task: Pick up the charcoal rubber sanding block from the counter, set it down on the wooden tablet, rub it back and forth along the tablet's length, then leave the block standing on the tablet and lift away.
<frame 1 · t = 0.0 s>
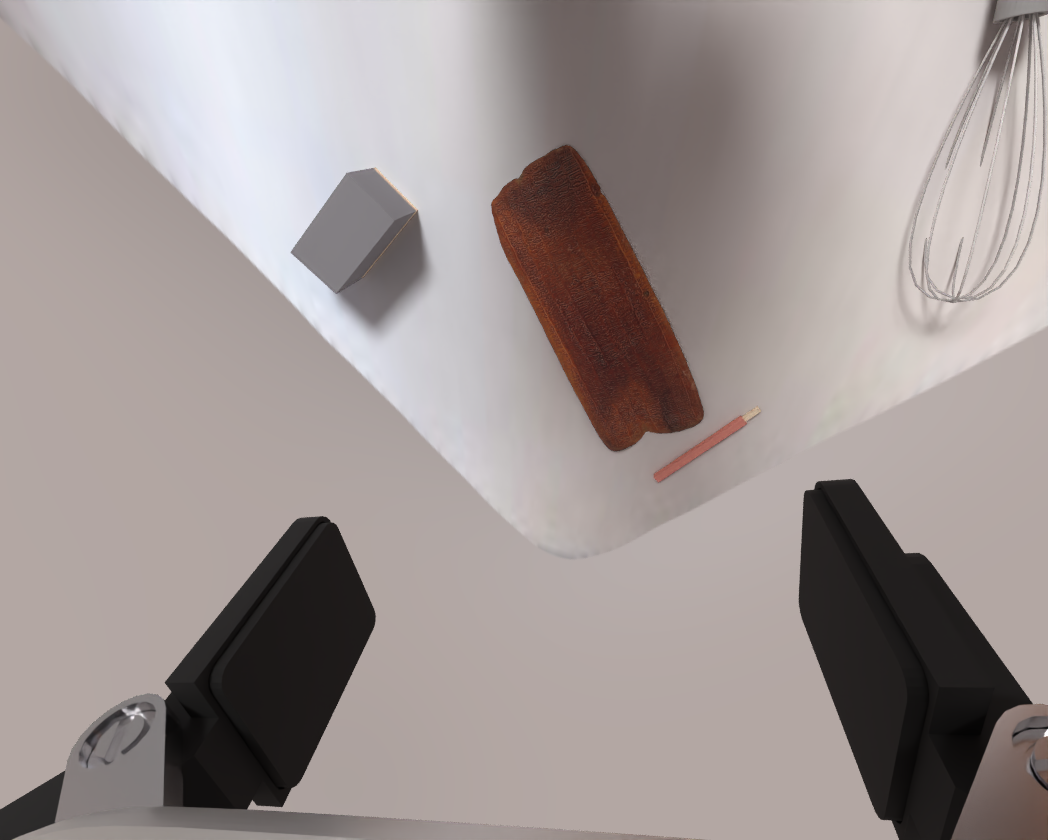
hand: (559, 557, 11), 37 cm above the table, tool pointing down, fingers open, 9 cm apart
kitchen whisk: (985, 35, 35), on the table
wooden tablet: (600, 311, 47), on the table
carpenter pencil: (697, 448, 51), on the table
sanding block: (369, 225, 46), on the table
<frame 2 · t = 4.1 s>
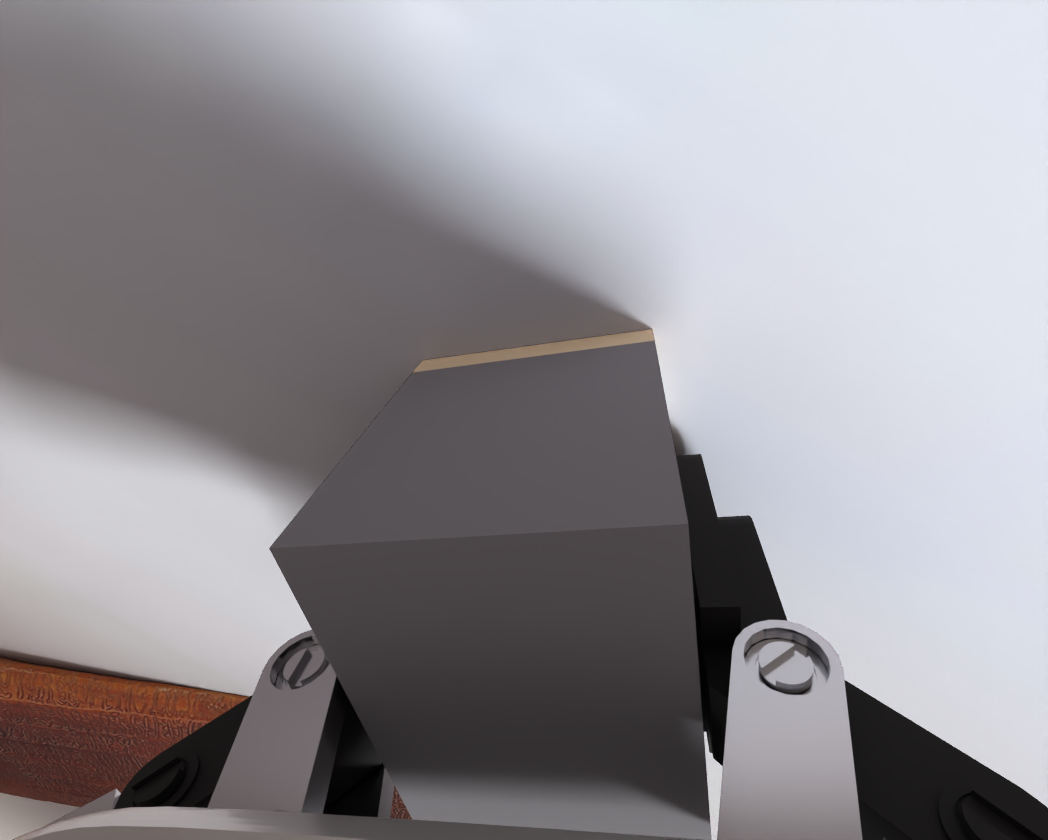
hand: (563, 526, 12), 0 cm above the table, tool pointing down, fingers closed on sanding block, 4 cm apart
wooden tablet: (123, 725, 21), on the table
sanding block: (565, 512, 12), on the table, touching gripper
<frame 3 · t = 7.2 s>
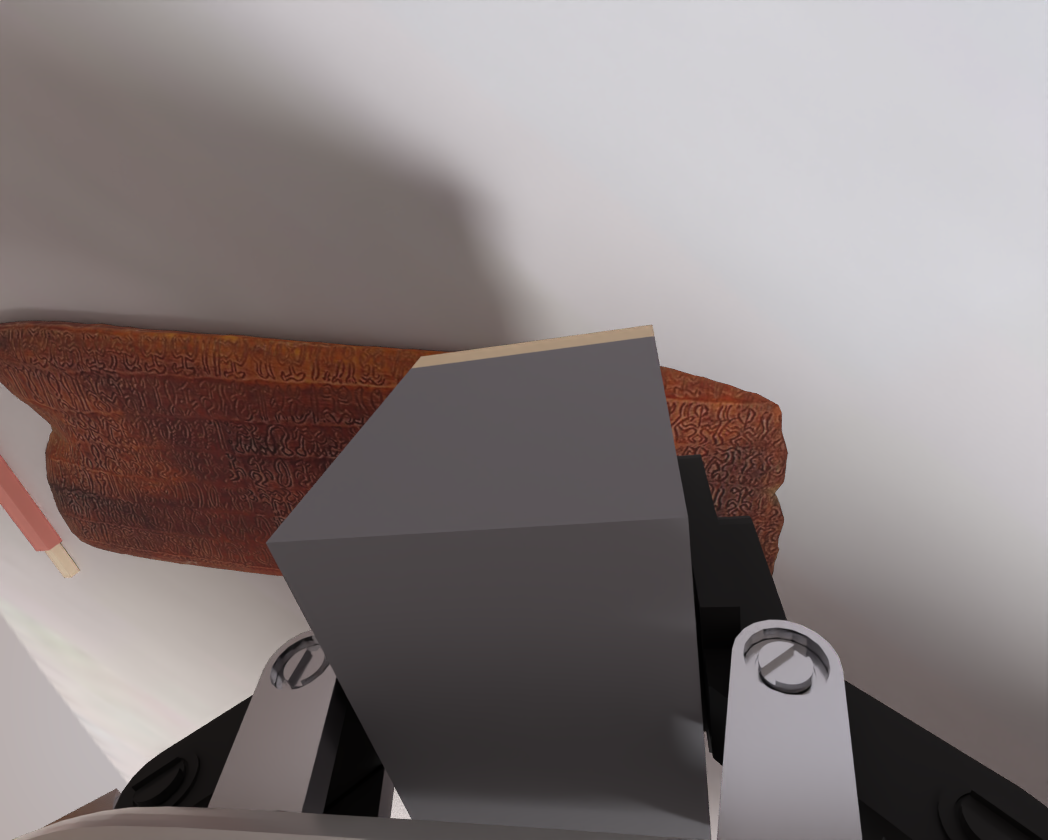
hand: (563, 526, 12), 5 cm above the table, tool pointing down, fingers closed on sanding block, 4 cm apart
wooden tablet: (383, 467, 19), on the table
sanding block: (564, 509, 12), point 4 cm above the table, touching gripper
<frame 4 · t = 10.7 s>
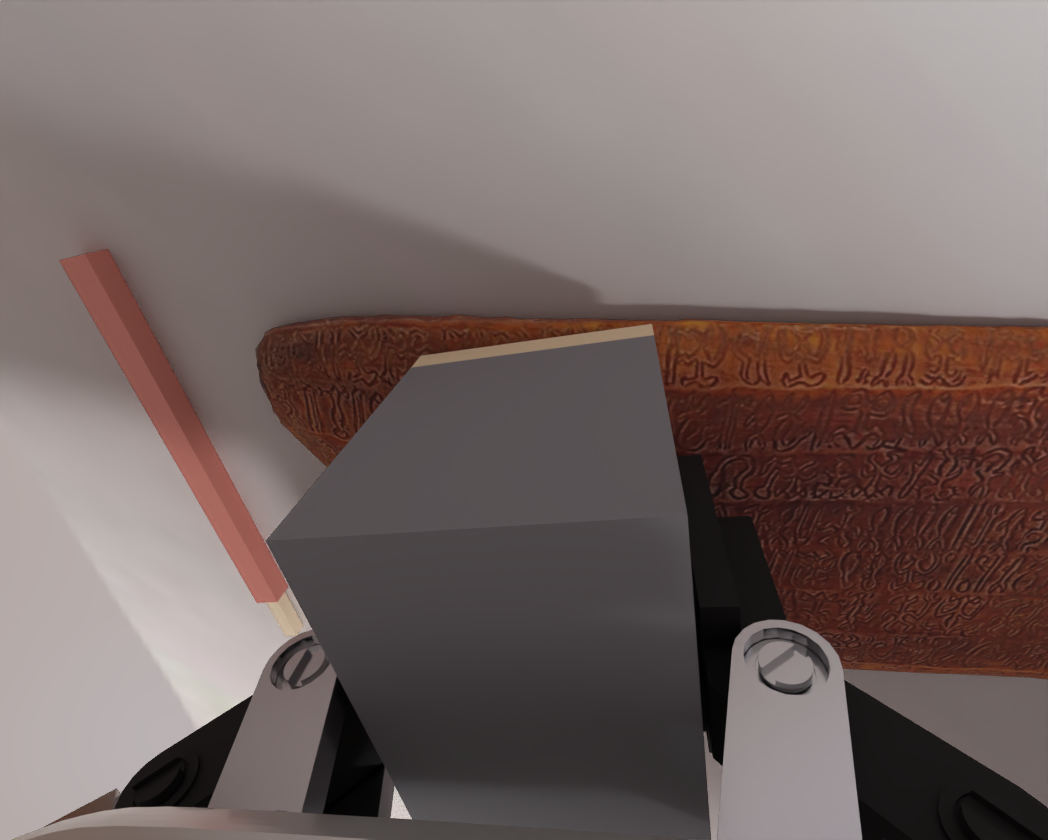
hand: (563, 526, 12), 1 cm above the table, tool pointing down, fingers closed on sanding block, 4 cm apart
wooden tablet: (816, 504, 13), on the table, touching sanding block
carpenter pencil: (204, 444, 14), on the table
sanding block: (564, 508, 12), point 1 cm above the table, touching gripper, wooden tablet
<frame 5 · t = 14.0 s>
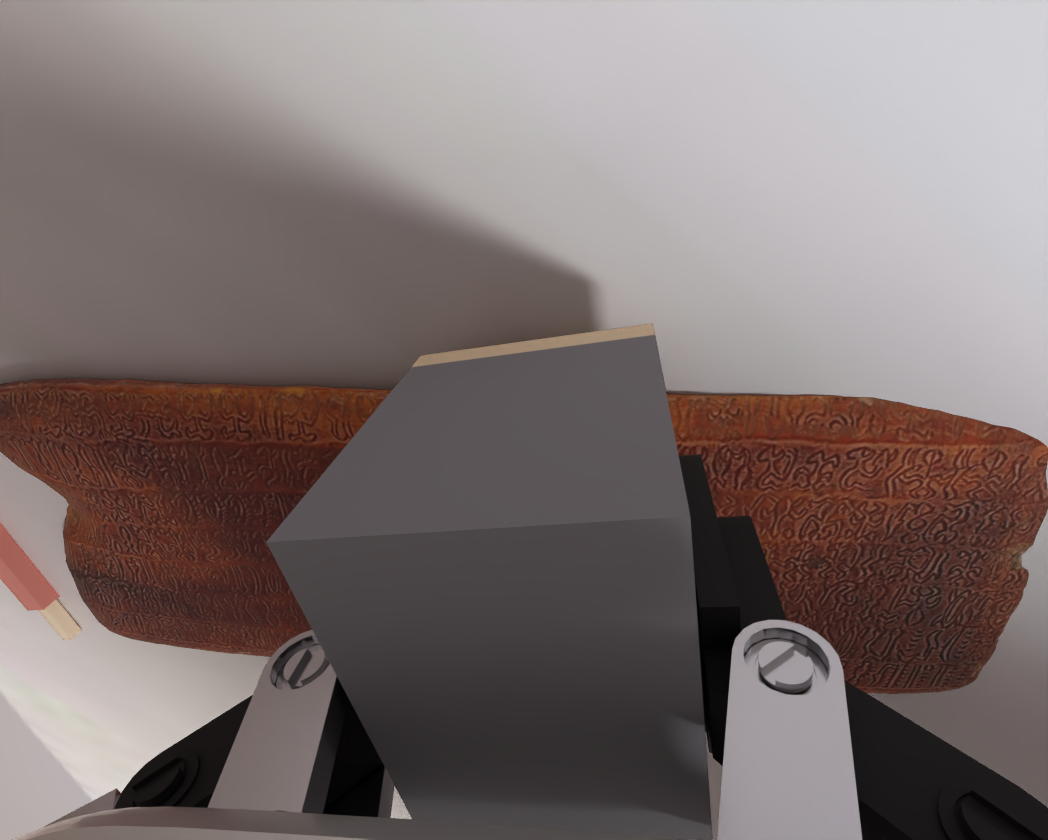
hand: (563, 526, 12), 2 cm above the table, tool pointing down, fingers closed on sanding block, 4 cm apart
wooden tablet: (480, 533, 15), on the table
sanding block: (564, 508, 12), point 1 cm above the table, touching gripper
when the fingers open (1 cm above the table, at t = 17.3 s): sanding block stays where it is, resting on wooden tablet.
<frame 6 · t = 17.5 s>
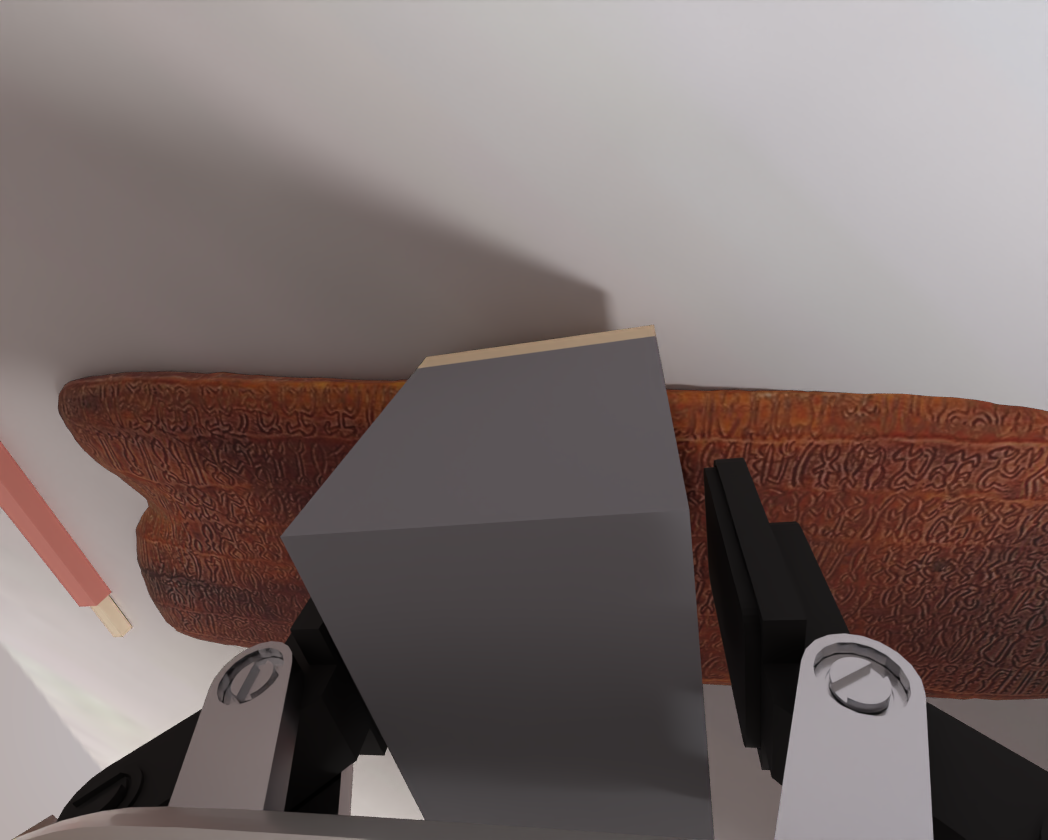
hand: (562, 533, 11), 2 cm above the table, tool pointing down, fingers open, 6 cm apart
wooden tablet: (572, 533, 15), on the table, touching sanding block
carpenter pencil: (12, 463, 16), on the table
sanding block: (567, 507, 12), point 1 cm above the table, touching wooden tablet
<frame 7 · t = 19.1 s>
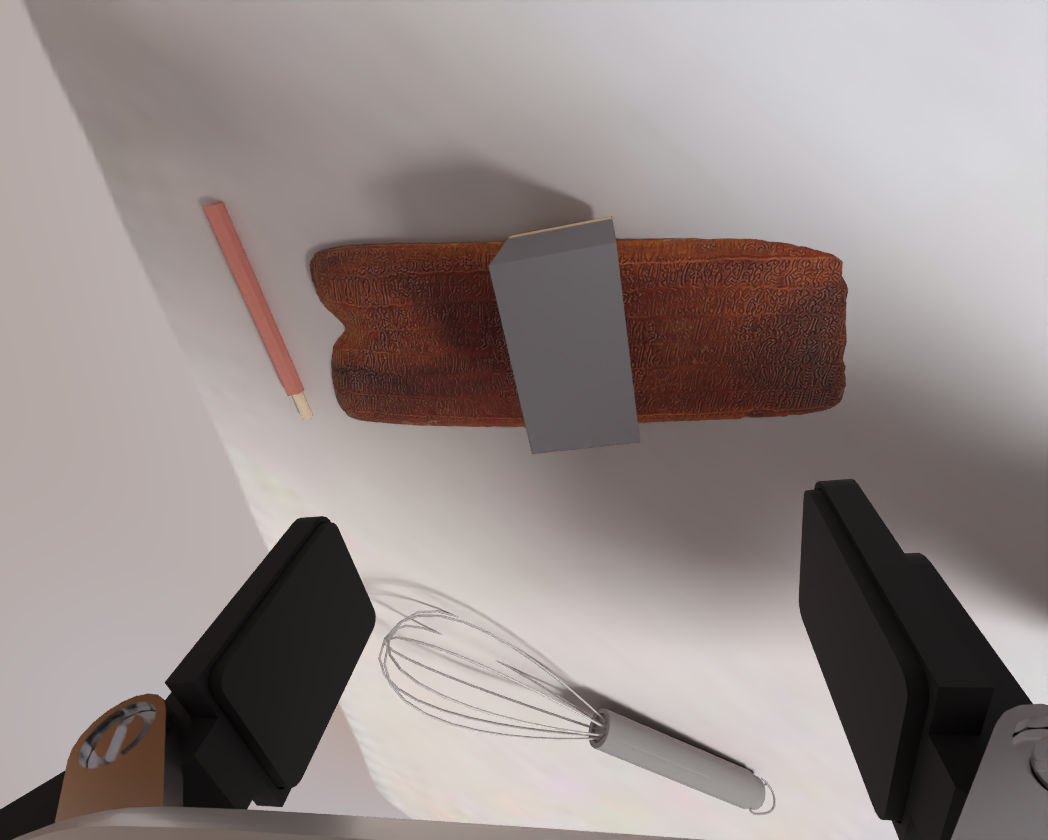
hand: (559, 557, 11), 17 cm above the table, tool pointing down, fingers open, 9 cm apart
kitchen whisk: (596, 690, 41), on the table
wooden tablet: (576, 336, 28), on the table, touching sanding block
carpenter pencil: (262, 303, 28), on the table
sanding block: (574, 313, 25), point 1 cm above the table, touching wooden tablet
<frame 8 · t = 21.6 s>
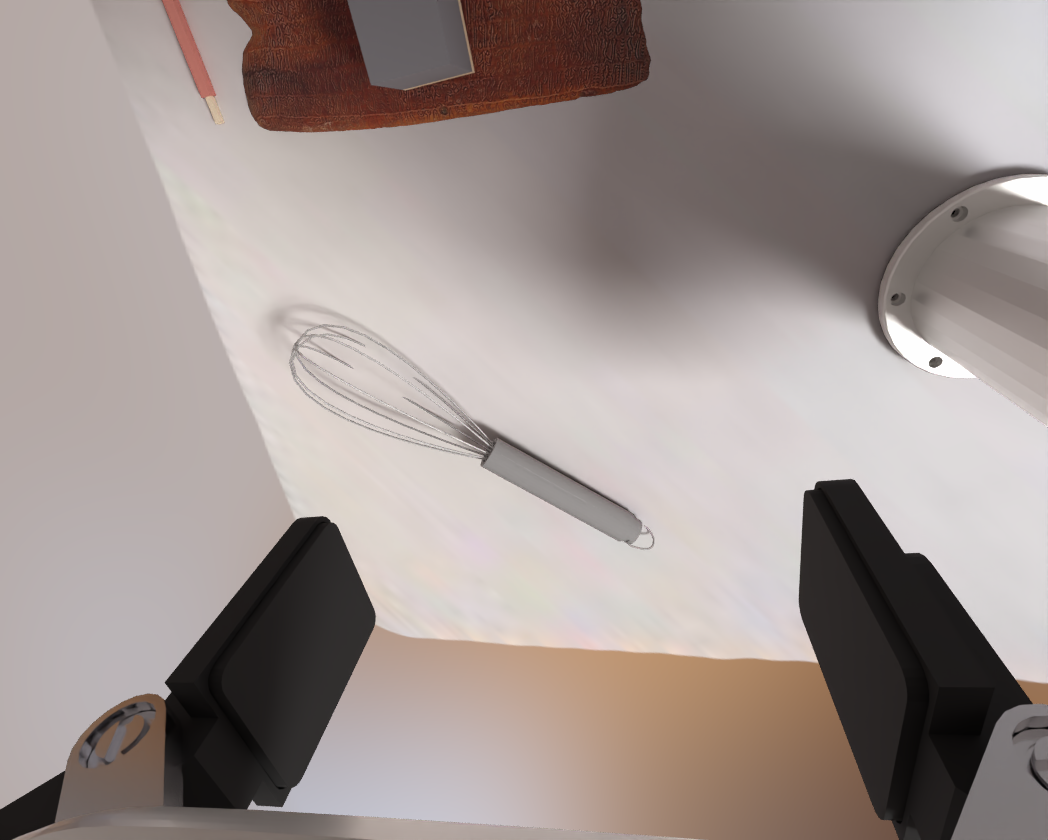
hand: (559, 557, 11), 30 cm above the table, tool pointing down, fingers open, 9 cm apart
kitchen whisk: (491, 429, 46), on the table
wooden tablet: (439, 33, 33), on the table, touching sanding block
carpenter pencil: (176, 6, 34), on the table
sanding block: (421, 1, 31), point 1 cm above the table, touching wooden tablet
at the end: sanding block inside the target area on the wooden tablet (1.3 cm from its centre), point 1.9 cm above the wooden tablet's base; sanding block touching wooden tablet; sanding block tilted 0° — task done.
